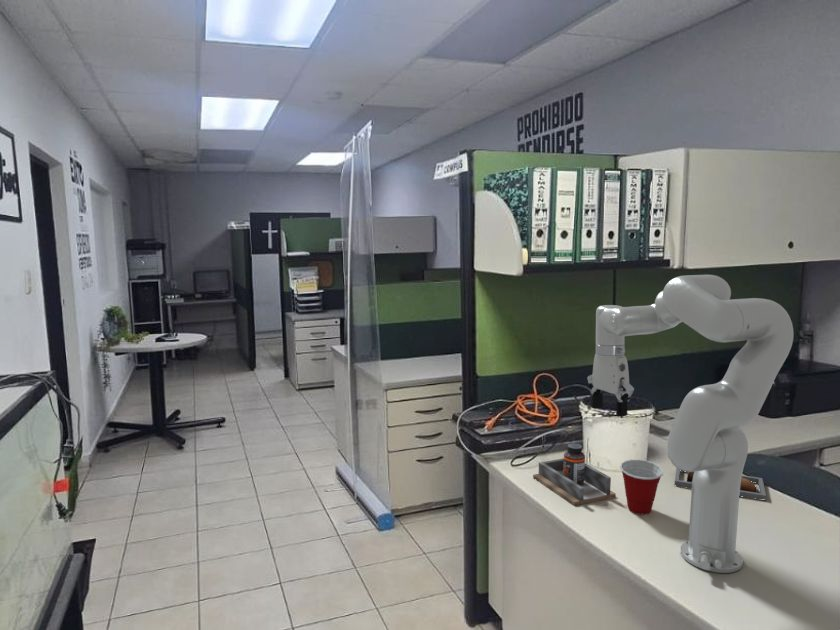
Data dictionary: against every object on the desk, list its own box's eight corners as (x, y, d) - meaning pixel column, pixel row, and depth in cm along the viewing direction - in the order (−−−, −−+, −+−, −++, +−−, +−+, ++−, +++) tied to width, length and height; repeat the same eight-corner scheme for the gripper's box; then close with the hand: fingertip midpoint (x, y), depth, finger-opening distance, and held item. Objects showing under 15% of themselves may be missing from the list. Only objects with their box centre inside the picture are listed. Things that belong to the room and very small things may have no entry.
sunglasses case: (759, 486, 171) (759, 471, 168) (755, 505, 167) (755, 490, 163) (691, 472, 181) (690, 458, 178) (687, 490, 177) (685, 476, 173)
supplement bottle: (558, 480, 173) (559, 443, 171) (575, 477, 175) (577, 440, 173) (570, 488, 167) (572, 450, 166) (588, 485, 169) (589, 447, 168)
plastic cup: (619, 517, 153) (621, 473, 151) (616, 499, 163) (618, 457, 162) (664, 521, 150) (667, 477, 149) (658, 503, 161) (660, 461, 159)
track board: (615, 496, 165) (616, 476, 164) (573, 505, 160) (574, 484, 159) (571, 470, 183) (572, 452, 182) (533, 477, 178) (533, 458, 177)
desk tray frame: (765, 500, 162) (765, 495, 162) (674, 485, 172) (674, 480, 172) (761, 483, 173) (762, 478, 173) (676, 469, 183) (676, 465, 183)
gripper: (643, 353, 155) (642, 417, 157) (599, 345, 171) (598, 403, 173) (621, 356, 152) (620, 421, 154) (578, 347, 168) (578, 406, 170)
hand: (609, 411), depth 163 cm, fingers open, 9 cm apart
